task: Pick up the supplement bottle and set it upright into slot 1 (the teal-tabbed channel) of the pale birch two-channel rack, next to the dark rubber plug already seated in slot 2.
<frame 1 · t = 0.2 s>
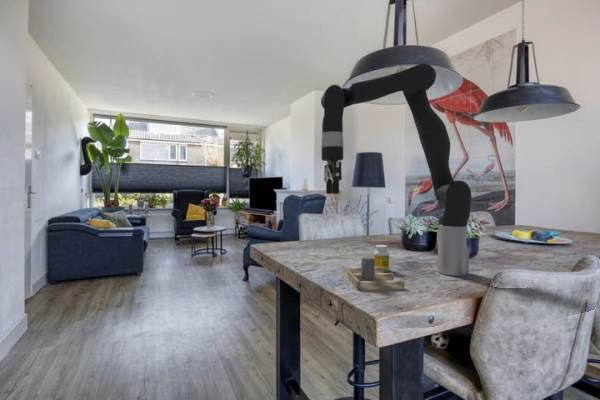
hand: (332, 193, 103), 28 cm above the table, fingers open, 8 cm apart
supplement bottle: (381, 272, 108), on the table
plug: (367, 284, 91), point 1 cm above the table, touching rack
rack: (371, 283, 95), on the table
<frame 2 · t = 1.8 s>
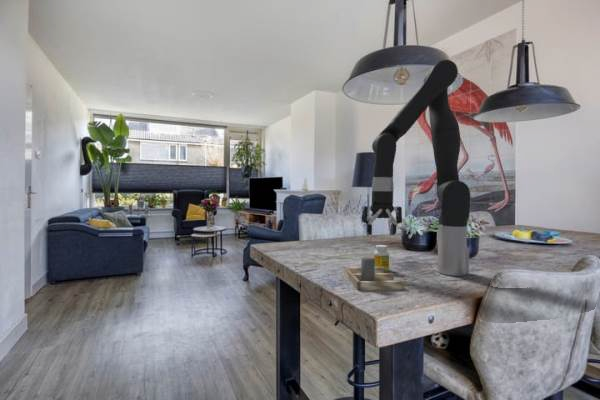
hand: (381, 234, 108), 14 cm above the table, fingers open, 8 cm apart
nothing on the table moved.
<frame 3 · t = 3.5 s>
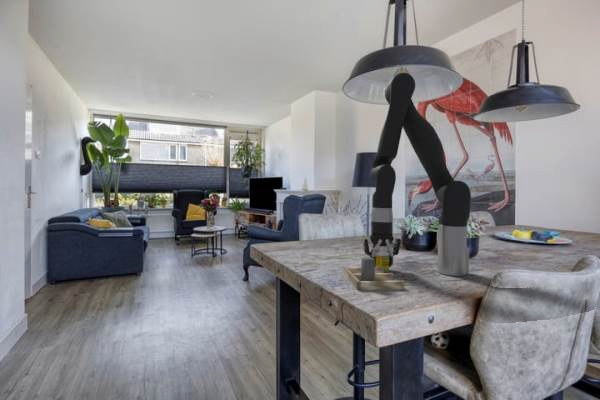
hand: (381, 266, 108), 2 cm above the table, fingers closed on supplement bottle, 5 cm apart
supplement bottle: (381, 272, 108), on the table, touching gripper
everything else where it was.
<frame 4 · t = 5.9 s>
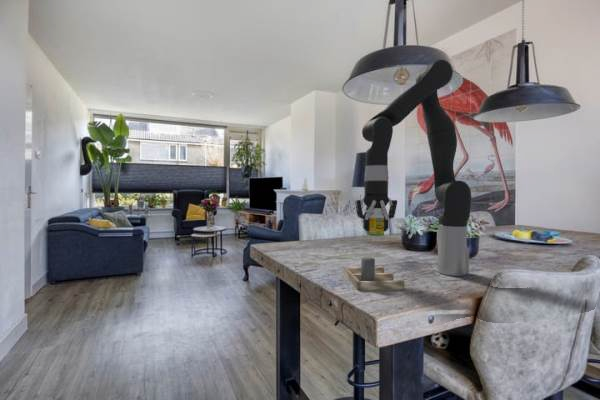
hand: (375, 230, 99), 16 cm above the table, fingers closed on supplement bottle, 5 cm apart
supplement bottle: (375, 237, 99), point 14 cm above the table, touching gripper
everything else where it was.
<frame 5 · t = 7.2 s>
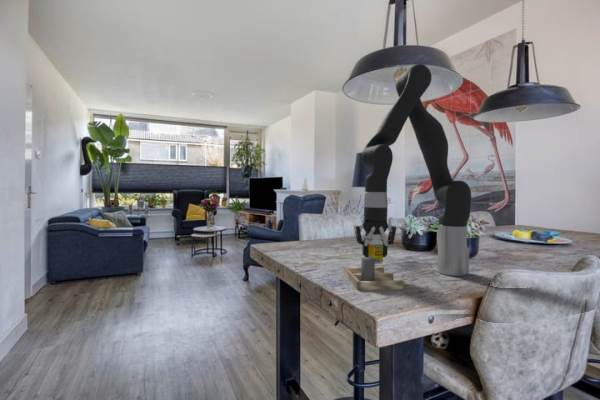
hand: (374, 256, 99), 8 cm above the table, fingers closed on supplement bottle, 5 cm apart
supplement bottle: (374, 263, 99), point 5 cm above the table, touching gripper
everything else where it was.
when the fingers open (4 cm above the table, at t = 8.4 s): supplement bottle drops 1 cm, resting on rack.
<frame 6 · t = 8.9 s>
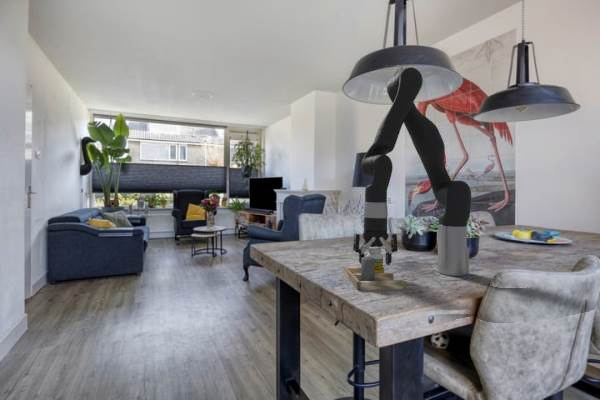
hand: (375, 264, 99), 5 cm above the table, fingers open, 8 cm apart
supplement bottle: (374, 277, 99), point 1 cm above the table, touching rack
everything else where it was.
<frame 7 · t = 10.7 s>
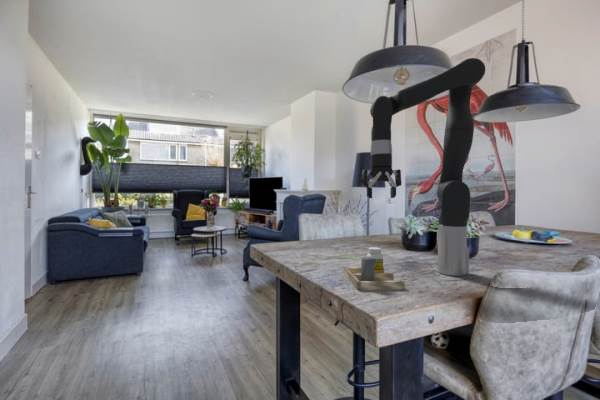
hand: (381, 198, 109), 27 cm above the table, fingers open, 8 cm apart
nothing on the table moved.
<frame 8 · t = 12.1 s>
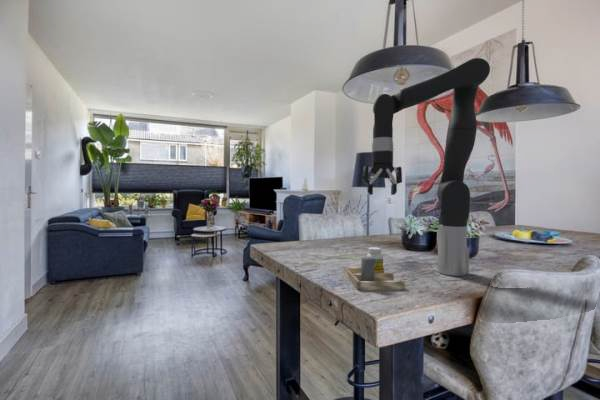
hand: (381, 194, 111), 28 cm above the table, fingers open, 8 cm apart
nothing on the table moved.
at the end: supplement bottle inside the target area (2.4 cm from its centre), point 0.6 cm above the table; supplement bottle tilted 0°; the gripper is holding nothing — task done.
